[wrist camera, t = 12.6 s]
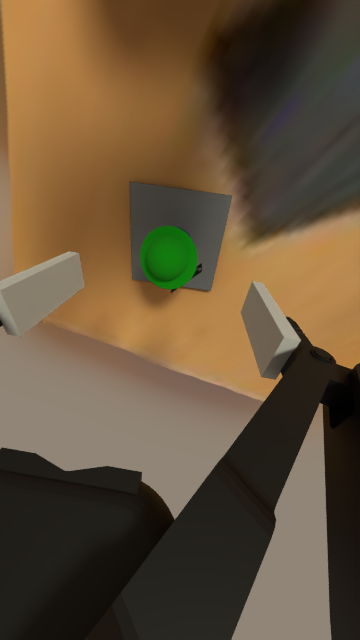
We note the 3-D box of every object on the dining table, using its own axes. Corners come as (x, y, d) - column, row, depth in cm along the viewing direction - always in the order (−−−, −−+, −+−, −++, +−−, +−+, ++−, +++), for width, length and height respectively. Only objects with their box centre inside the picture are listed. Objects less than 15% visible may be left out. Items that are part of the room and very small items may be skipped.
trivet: (131, 182, 34) (129, 181, 33) (231, 195, 34) (232, 195, 32) (133, 277, 44) (132, 279, 43) (210, 288, 43) (210, 290, 42)
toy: (172, 273, 41) (160, 306, 29) (145, 238, 38) (118, 259, 25) (207, 247, 38) (210, 272, 25) (180, 207, 34) (169, 213, 22)
